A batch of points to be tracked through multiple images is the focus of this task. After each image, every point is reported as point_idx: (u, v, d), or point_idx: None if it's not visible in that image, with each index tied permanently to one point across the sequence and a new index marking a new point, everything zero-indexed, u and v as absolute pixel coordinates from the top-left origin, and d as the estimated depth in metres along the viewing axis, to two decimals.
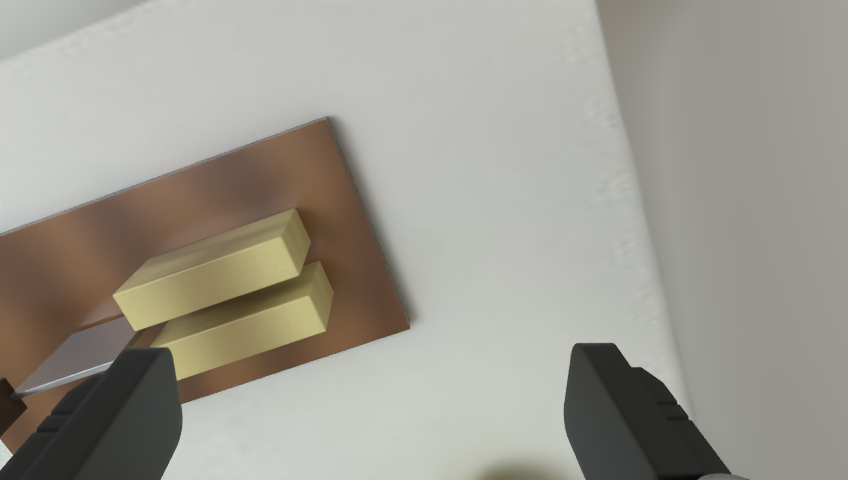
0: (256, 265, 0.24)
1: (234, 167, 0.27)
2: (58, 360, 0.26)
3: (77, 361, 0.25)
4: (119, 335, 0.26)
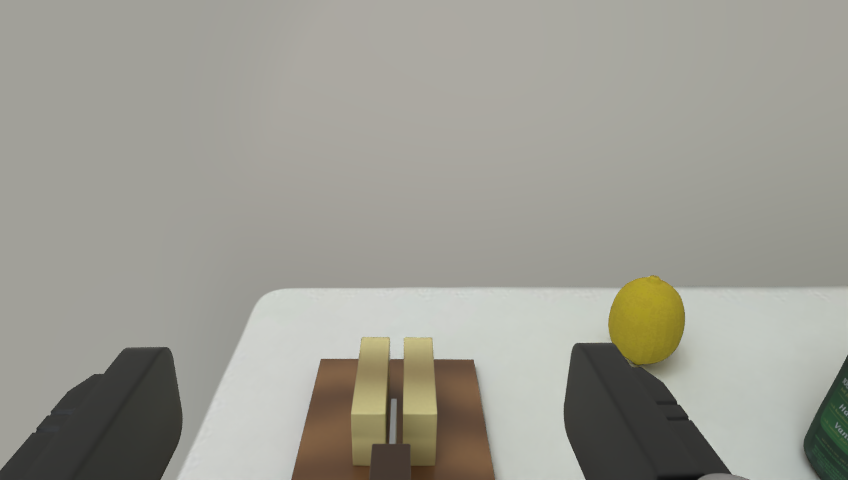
0: (372, 349, 0.38)
1: (320, 399, 0.39)
2: None
3: None
4: None
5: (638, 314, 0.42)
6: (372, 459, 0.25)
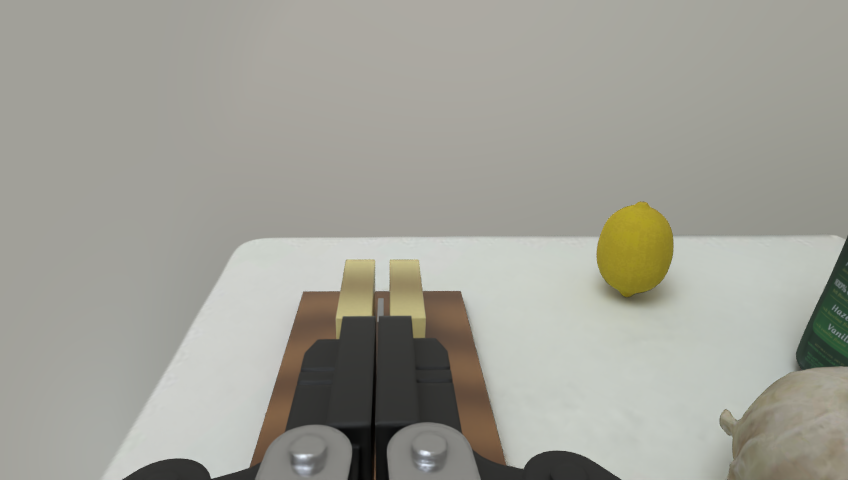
0: (357, 268, 0.37)
1: (303, 324, 0.38)
2: None
3: None
4: None
5: (627, 238, 0.41)
6: None
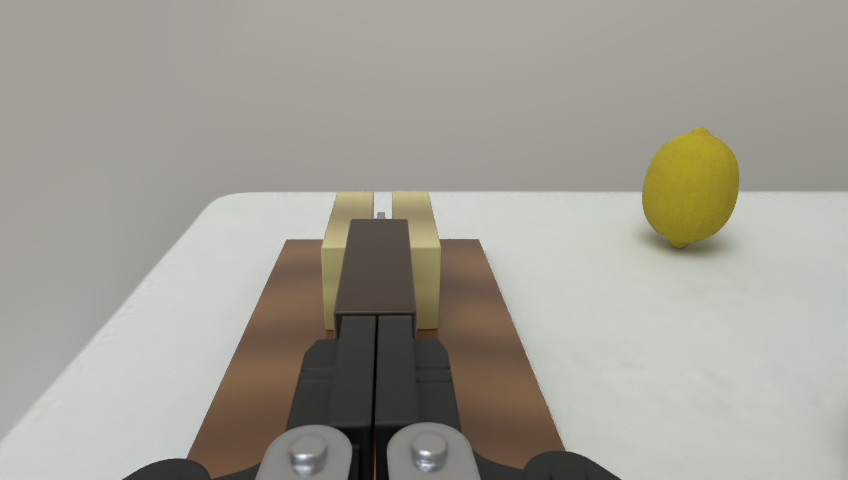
0: (351, 199, 0.29)
1: (283, 272, 0.30)
2: None
3: None
4: None
5: (684, 169, 0.33)
6: (351, 229, 0.17)
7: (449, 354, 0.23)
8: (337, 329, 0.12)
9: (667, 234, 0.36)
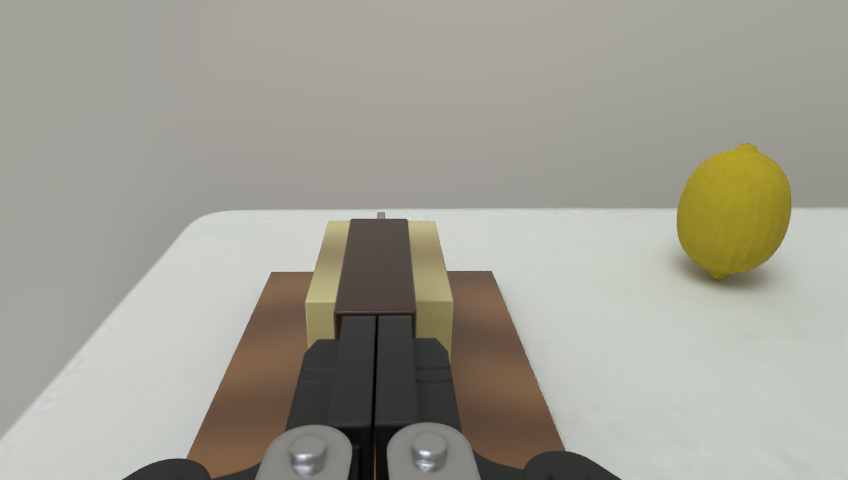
0: (344, 232, 0.25)
1: (265, 316, 0.26)
2: None
3: None
4: None
5: (730, 192, 0.29)
6: (351, 229, 0.17)
7: (464, 434, 0.19)
8: (337, 329, 0.12)
9: (707, 265, 0.31)
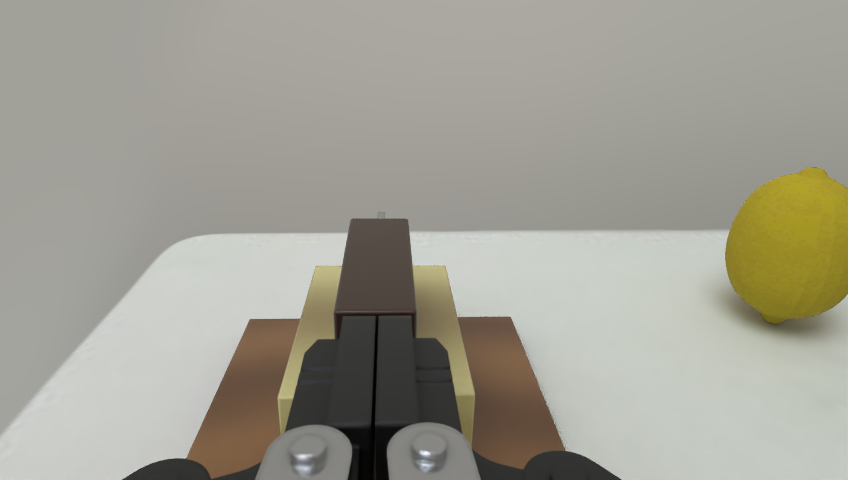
0: (334, 283, 0.20)
1: (237, 384, 0.21)
2: None
3: None
4: None
5: (797, 227, 0.24)
6: (351, 229, 0.17)
7: None
8: (337, 329, 0.12)
9: (764, 309, 0.27)
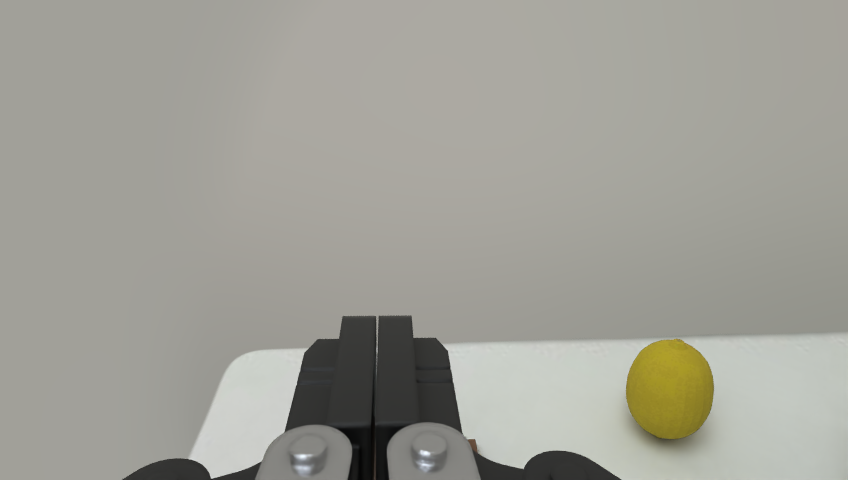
0: None
1: None
2: None
3: None
4: None
5: (663, 385, 0.36)
6: None
7: None
8: None
9: None
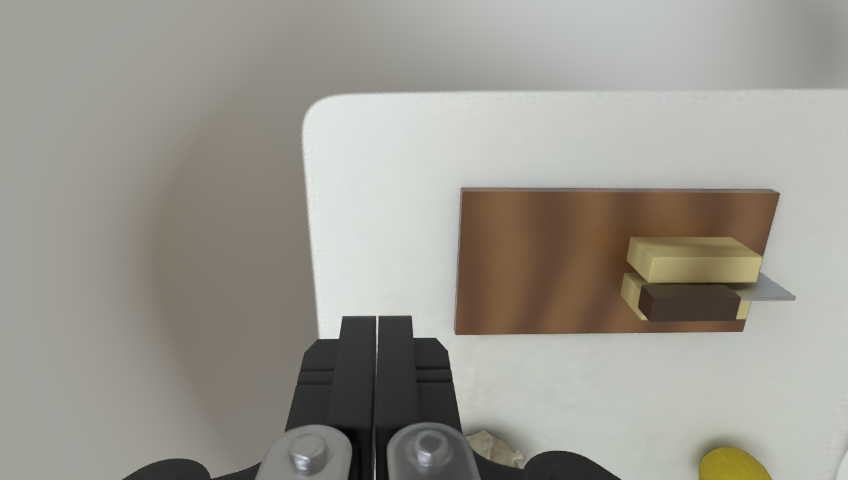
0: (739, 268, 0.39)
1: (715, 201, 0.42)
2: (724, 283, 0.41)
3: (751, 288, 0.40)
4: (757, 279, 0.41)
5: None
6: (727, 298, 0.37)
7: (595, 298, 0.44)
8: (650, 296, 0.37)
9: None
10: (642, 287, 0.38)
